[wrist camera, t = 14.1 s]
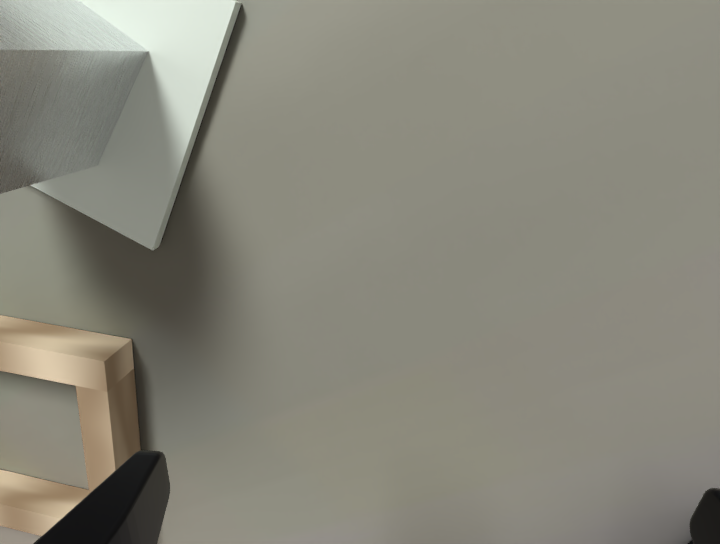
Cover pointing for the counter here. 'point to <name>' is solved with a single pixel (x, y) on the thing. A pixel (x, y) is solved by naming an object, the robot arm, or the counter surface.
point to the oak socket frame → (96, 410)
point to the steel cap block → (59, 88)
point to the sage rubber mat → (152, 114)
